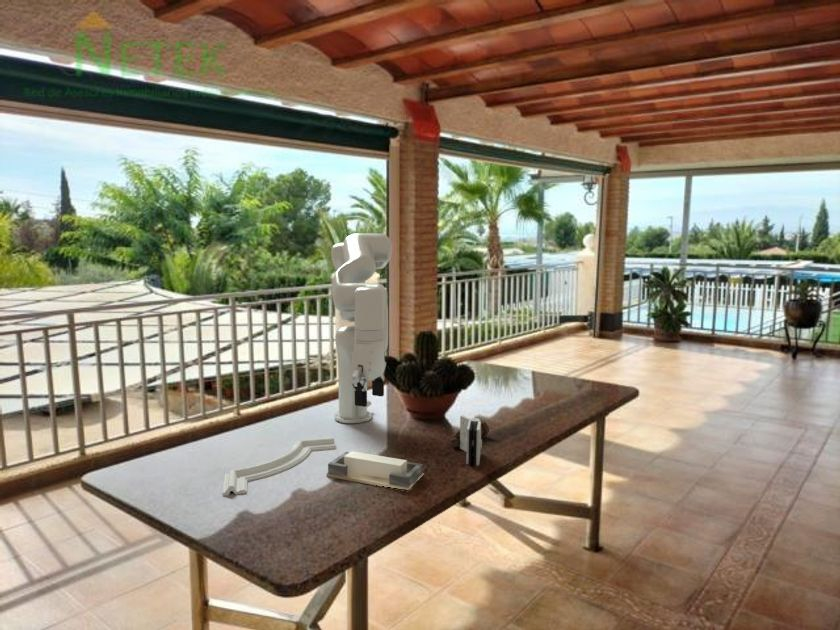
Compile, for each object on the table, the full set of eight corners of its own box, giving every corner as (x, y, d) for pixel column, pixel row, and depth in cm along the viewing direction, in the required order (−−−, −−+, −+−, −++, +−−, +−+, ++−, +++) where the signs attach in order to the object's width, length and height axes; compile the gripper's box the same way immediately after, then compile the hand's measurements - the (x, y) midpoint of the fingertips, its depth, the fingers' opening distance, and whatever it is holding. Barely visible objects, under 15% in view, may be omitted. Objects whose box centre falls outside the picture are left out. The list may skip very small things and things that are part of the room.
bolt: (451, 454, 174) (480, 439, 186) (464, 449, 171) (492, 434, 183) (443, 435, 175) (472, 422, 187) (455, 430, 172) (484, 417, 184)
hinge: (459, 448, 174) (460, 415, 172) (477, 448, 174) (478, 415, 173) (466, 466, 160) (467, 430, 159) (486, 466, 160) (487, 430, 159)
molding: (234, 502, 139) (234, 490, 139) (199, 490, 145) (198, 479, 145) (343, 447, 176) (343, 437, 176) (311, 439, 182) (311, 430, 181)
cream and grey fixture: (345, 462, 162) (345, 451, 161) (423, 476, 153) (424, 463, 153) (326, 476, 153) (326, 464, 152) (408, 491, 144) (408, 478, 144)
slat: (351, 465, 158) (351, 451, 157) (406, 475, 152) (406, 460, 151) (344, 471, 154) (344, 456, 154) (400, 481, 148) (400, 465, 148)
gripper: (371, 328, 160) (371, 390, 162) (339, 340, 144) (340, 408, 146) (397, 331, 157) (396, 393, 160) (367, 342, 141) (367, 412, 144)
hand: (369, 400), depth 153 cm, fingers open, 9 cm apart
